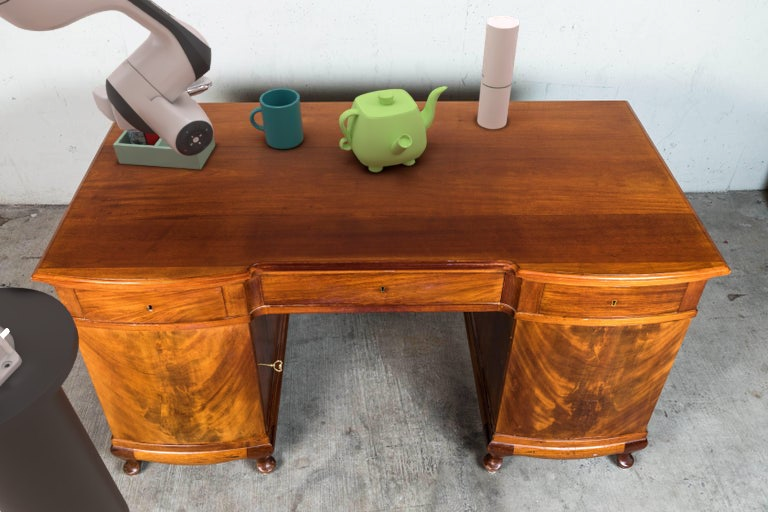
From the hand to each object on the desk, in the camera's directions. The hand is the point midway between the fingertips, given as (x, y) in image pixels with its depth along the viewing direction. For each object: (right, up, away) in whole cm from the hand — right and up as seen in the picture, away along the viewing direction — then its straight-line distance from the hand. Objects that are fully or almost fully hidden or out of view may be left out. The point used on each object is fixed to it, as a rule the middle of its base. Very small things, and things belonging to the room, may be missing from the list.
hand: (138, 72), depth 128 cm
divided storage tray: (-2, -12, +24) cm, 27 cm away
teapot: (+51, -14, +21) cm, 57 cm away
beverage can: (-6, -11, +24) cm, 27 cm away
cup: (+23, -8, +28) cm, 37 cm away
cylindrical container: (+75, -3, +33) cm, 82 cm away
